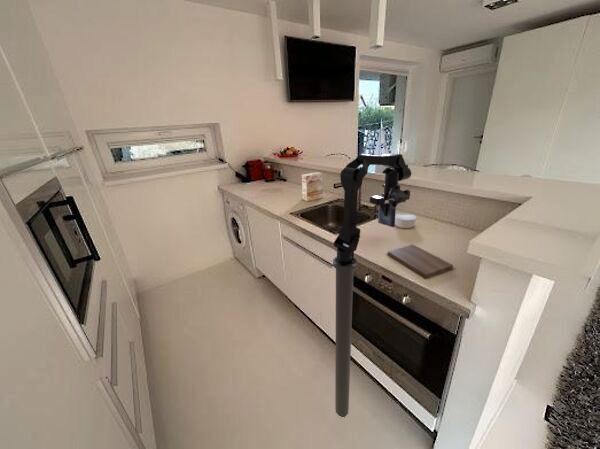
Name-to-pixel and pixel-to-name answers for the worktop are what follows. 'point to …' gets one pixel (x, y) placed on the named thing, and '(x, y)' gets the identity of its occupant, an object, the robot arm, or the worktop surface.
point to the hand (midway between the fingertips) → (388, 215)
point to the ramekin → (405, 220)
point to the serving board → (420, 260)
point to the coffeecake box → (312, 186)
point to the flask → (390, 217)
